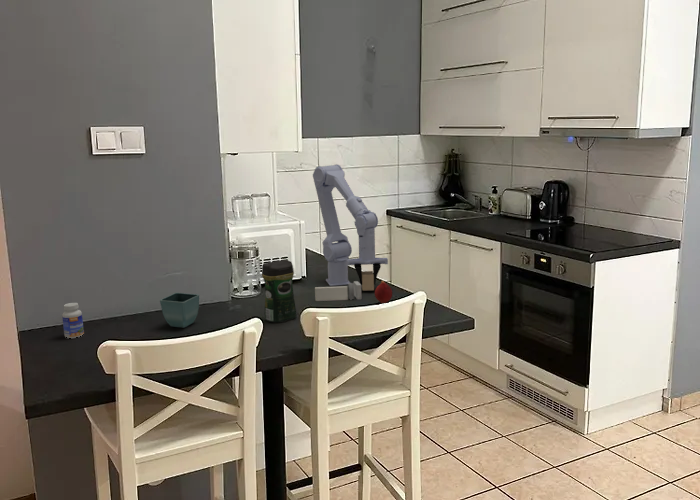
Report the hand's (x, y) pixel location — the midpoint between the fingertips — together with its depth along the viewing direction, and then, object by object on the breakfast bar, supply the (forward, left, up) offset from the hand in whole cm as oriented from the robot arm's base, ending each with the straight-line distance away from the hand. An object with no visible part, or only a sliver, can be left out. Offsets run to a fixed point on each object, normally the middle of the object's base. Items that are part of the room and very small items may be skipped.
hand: (367, 284), depth 235 cm
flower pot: (+21, -64, -3) cm, 67 cm away
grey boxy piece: (+7, -7, -2) cm, 10 cm away
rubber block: (0, 0, -1) cm, 1 cm away
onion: (+18, +1, -3) cm, 18 cm away
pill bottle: (+22, -95, -3) cm, 98 cm away
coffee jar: (+24, -34, -3) cm, 42 cm away
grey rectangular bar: (+7, -15, -2) cm, 17 cm away
